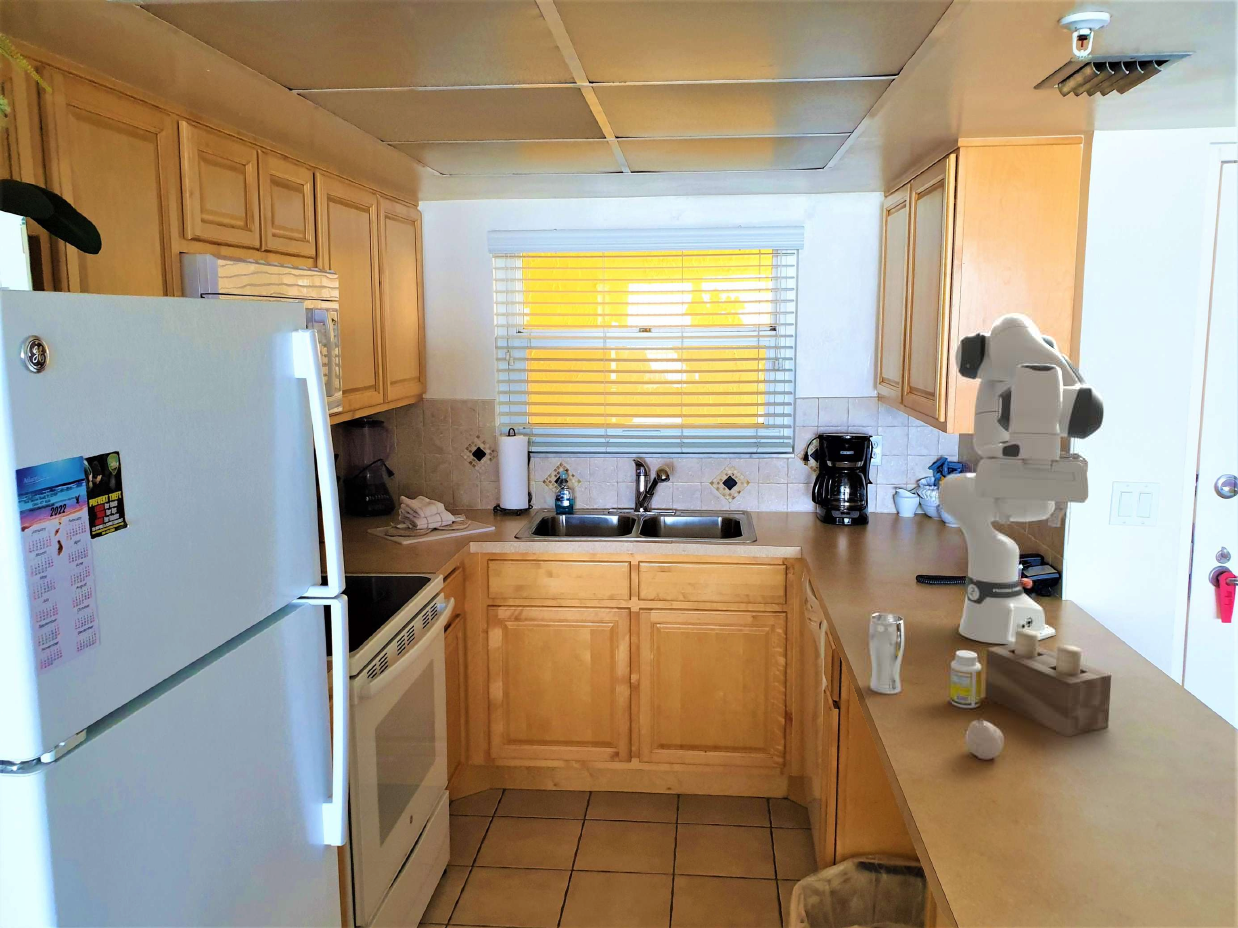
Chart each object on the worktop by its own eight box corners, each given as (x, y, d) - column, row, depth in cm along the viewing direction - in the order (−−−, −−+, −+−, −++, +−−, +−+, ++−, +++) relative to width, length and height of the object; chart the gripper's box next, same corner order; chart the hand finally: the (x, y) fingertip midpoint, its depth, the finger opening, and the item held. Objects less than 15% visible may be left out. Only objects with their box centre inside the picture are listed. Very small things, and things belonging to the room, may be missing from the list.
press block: (1023, 688, 187) (1025, 641, 185) (1108, 726, 168) (1111, 674, 167) (984, 696, 183) (986, 648, 182) (1067, 736, 164) (1070, 683, 163)
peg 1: (1024, 672, 182) (1026, 628, 181) (1040, 679, 178) (1042, 634, 177) (1009, 675, 181) (1011, 631, 179) (1024, 682, 177) (1027, 637, 176)
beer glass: (861, 689, 188) (863, 618, 186) (877, 679, 193) (879, 610, 191) (893, 697, 183) (895, 625, 181) (909, 687, 188) (911, 617, 186)
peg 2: (1065, 690, 173) (1068, 644, 172) (1083, 697, 169) (1086, 650, 168) (1049, 693, 171) (1052, 647, 170) (1067, 701, 168) (1070, 653, 166)
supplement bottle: (971, 697, 183) (973, 647, 181) (985, 708, 177) (987, 657, 176) (944, 698, 182) (946, 649, 181) (957, 710, 177) (959, 659, 175)
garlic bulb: (955, 751, 159) (957, 708, 158) (983, 744, 162) (985, 701, 161) (984, 767, 153) (986, 722, 152) (1013, 760, 156) (1015, 715, 155)
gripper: (1078, 453, 173) (1074, 526, 173) (973, 447, 172) (968, 520, 172) (1097, 453, 167) (1093, 529, 167) (988, 447, 166) (983, 523, 166)
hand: (1029, 525), depth 170 cm, fingers open, 8 cm apart
